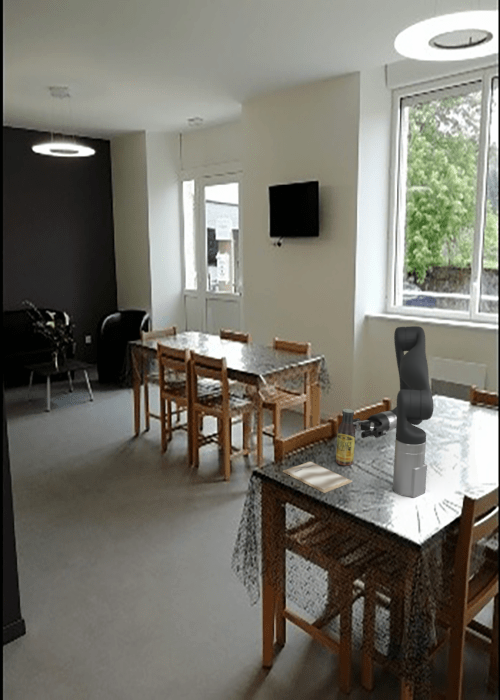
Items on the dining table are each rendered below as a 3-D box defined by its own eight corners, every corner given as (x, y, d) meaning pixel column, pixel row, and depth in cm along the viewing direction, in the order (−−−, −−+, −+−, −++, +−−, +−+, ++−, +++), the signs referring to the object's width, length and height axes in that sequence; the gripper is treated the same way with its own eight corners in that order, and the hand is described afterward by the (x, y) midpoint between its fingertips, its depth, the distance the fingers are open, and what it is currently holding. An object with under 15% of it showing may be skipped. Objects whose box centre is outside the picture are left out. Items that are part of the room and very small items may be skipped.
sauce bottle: (333, 464, 199) (334, 411, 194) (339, 458, 204) (340, 406, 200) (351, 468, 196) (353, 414, 191) (356, 461, 201) (358, 409, 197)
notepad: (352, 482, 185) (352, 479, 185) (324, 493, 177) (324, 491, 177) (310, 462, 200) (310, 460, 200) (282, 472, 193) (282, 470, 192)
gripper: (368, 408, 214) (338, 416, 204) (398, 418, 203) (368, 427, 193) (367, 426, 216) (338, 436, 206) (397, 437, 204) (367, 447, 195)
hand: (352, 431), depth 200 cm, fingers open, 8 cm apart
